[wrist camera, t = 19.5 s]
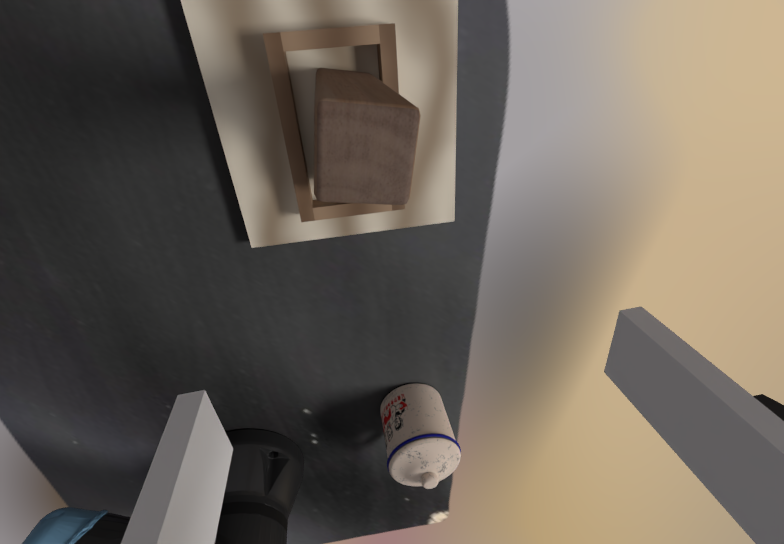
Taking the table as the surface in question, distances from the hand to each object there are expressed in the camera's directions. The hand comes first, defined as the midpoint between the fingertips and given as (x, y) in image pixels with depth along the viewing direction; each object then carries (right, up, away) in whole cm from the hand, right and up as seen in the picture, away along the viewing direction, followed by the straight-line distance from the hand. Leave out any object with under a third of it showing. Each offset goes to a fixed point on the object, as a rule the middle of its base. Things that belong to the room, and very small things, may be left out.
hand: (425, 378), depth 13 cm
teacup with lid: (+1, -16, +43) cm, 46 cm away
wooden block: (-5, +16, +21) cm, 27 cm away
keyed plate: (-6, +16, +22) cm, 28 cm away
